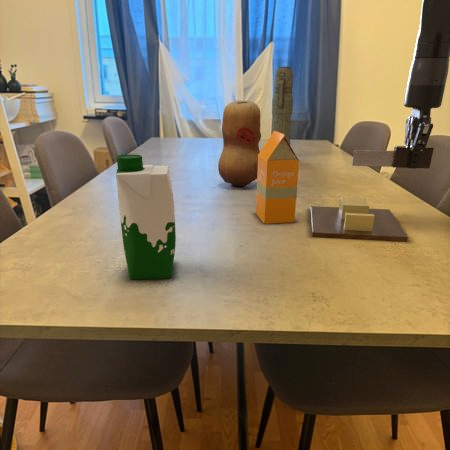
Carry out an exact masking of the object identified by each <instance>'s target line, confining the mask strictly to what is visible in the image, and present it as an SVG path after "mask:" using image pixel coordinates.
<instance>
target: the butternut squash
mask: <svg viewBox="0 0 450 450" xmlns="http://www.w3.org/2000/svg"><path fill="white" fill-rule="evenodd" d="M222 115H223V116H222V124H221V134H222V140H223V142H222V143H223V146H222V150H221V153H220V156H219V158H218V164H217V165H218V166H217V167H218V168H217V169H218V174H219V176H220V178H221V179H222V180H223V181H224V182H225V184H230V185H232V186H235V187H247V186H248V185H250V184H251V183H252V182H255V181H257V172H258V154H259V153H260V151H261V149H260V146H259V143H260V141H261V138H262V133H261V109H260V106H258V105H257V103H256V102H254V101H252V100H235V101H231V102H228V103H227V104H226V106H225V107H224V109H223V113H222Z"/></svg>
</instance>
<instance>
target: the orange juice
mask: <svg viewBox="0 0 450 450" xmlns="http://www.w3.org/2000/svg"><path fill="white" fill-rule="evenodd" d="M299 167H300V159H299V158H298V156H297V154H296V153H295V151H294V149H293V147H292V146H291V144H289V142H288V141H287V139H286V137H285V136H284V134H282V133H279V132H277V131H274V132H273V133H272V132H271V135H270V136H269V137H268V139H267V141H266V142H265V144H264V145H263V147H262V148H261V149H260V153H259V154H258V172H257V179H256V202H255V203H256V204H255V205H256V206H255V215H256V216H257V217H258V218H259V219H260V220H261V222H262V223H263V224H265V225H269V224H286V223H288V224H289V223H295V219H296V208H297V207H296V206H297V197H298V196H297V195H298V182H299Z"/></svg>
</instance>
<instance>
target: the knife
mask: <svg viewBox="0 0 450 450" xmlns="http://www.w3.org/2000/svg"><path fill="white" fill-rule="evenodd" d="M434 149H435V147H433V146H431V145H429V146H428V145H426V148H425V149H423V150H422V151H421V153H420V158H419V163H418V167H417V168H416V169H430V168H431V164H432V159H433V154H434ZM409 153H410V146H406V145H394V147H393V150H375V149H374V150H373V149H372V150H371V149H370V150H369V149H354V150H353V155H352V156H353V157H352V165H351V166H352V167H381V168H396V169H397V168H398V169H409V168H408V167H407V163H408V158H409Z"/></svg>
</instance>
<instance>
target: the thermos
mask: <svg viewBox="0 0 450 450" xmlns="http://www.w3.org/2000/svg"><path fill="white" fill-rule="evenodd" d="M293 88H294V71H293V68H292V67H291V66H279V67H276V71H275V74H274V91H273V96H272V101H271V115H272V122H271V123H272V125H271V134H272V133H273V132H274V131H277V132H279V133H282V134H284V136H285V137H286V139H287V141H288V142H289V144H290V145H291V138H290V137H291V122H292V115H293V111H294V109H293V108H294V97H293Z"/></svg>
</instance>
